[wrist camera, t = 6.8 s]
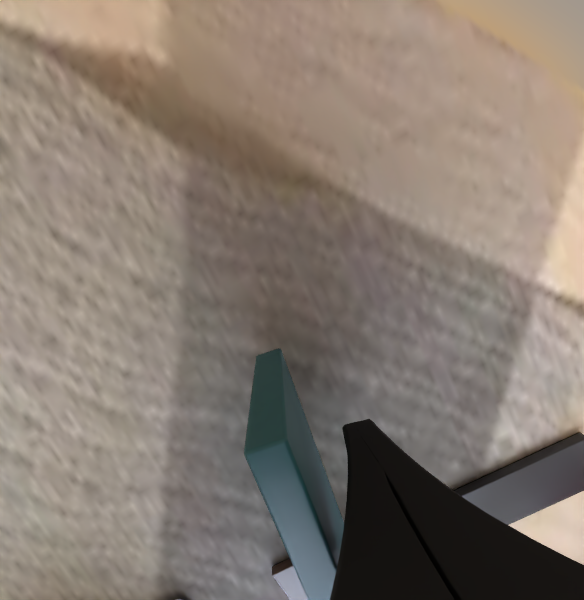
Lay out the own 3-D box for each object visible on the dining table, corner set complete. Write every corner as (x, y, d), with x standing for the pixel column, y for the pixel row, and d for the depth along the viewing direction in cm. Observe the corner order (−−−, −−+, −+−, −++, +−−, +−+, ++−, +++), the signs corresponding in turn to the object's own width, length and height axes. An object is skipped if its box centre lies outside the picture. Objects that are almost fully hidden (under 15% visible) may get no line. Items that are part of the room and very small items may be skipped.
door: (360, 567, 14) (408, 750, 9) (338, 574, 14) (374, 761, 9) (280, 347, 11) (287, 439, 6) (252, 356, 11) (237, 455, 6)
